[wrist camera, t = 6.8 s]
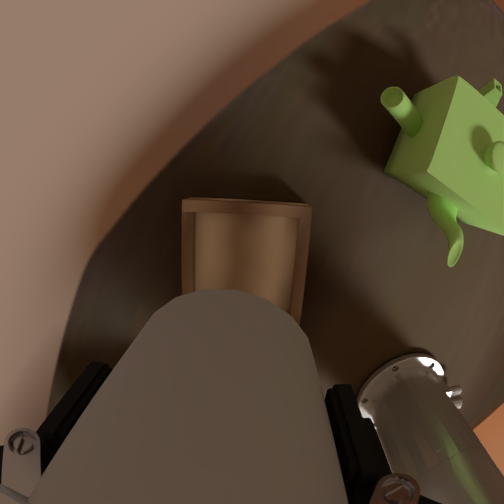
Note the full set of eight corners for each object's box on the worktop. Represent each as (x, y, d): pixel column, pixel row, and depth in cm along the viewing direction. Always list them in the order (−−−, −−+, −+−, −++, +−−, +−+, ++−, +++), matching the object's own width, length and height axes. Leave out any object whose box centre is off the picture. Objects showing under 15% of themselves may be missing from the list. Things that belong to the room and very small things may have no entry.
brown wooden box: (306, 203, 29) (312, 207, 25) (296, 311, 31) (299, 326, 28) (190, 197, 29) (182, 199, 26) (189, 304, 31) (182, 318, 28)
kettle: (492, 205, 28) (558, 221, 17) (400, 249, 29) (458, 286, 19) (454, 81, 24) (517, 58, 14) (351, 109, 26) (398, 77, 15)
